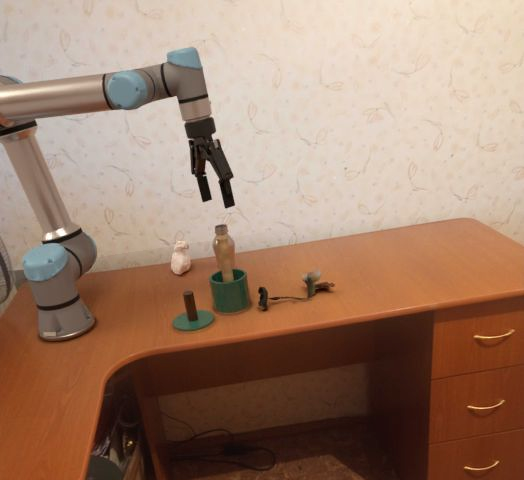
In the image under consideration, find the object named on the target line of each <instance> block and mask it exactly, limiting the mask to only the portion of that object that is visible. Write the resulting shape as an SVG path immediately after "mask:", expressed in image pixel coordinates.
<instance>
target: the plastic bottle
mask: <svg viewBox="0 0 524 480" xmlns="http://www.w3.org/2000/svg"><path fill="white" fill-rule="evenodd" d="M214 234H215V237H214V238H213V240H212V243H211V244H212V251H213V252H214V256H215V259H216V262H217V267H218V268H217V269H218V270H217V271H221V264H220V258H219V251H218V245H217V239H216V238H217V237H219V236H227V237H228V243H229V250H230V257H231V264H232V269H238V267H237V263H236V247H235V246H236V245H235V240H234V239H233V237H232V236H231V235H230V234H229V229H228V224H225V223H222V224H217V225H215V226H214Z"/></svg>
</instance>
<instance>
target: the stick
mask: <svg viewBox="0 0 524 480" xmlns="http://www.w3.org/2000/svg"><path fill="white" fill-rule="evenodd" d="M216 239H217V245H218V251H219V258H220V264H221V270H222V276H223V283H225V282H232V281H234V277H233V270H232V264H231V257H230V250H229V243H228V237H227V236H219V237H217V238H216Z"/></svg>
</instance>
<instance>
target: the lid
mask: <svg viewBox="0 0 524 480" xmlns="http://www.w3.org/2000/svg"><path fill="white" fill-rule="evenodd" d="M182 298H183V302H184V307H185V312H182V313H180V314H178V315H177V316H176V317H174V318H173V320H172V327H173V328H174V329H175V330H177V331H180V332H193V331H198V330H203V329H205V328H206V327H209V326H210V325H212V324H213V322H214V321H215V314H214V313H213V312H211V311H209V310H205V309H197V306H196V305H197V304H196V299H195V294H194V291H193V290H185V291H183V292H182Z"/></svg>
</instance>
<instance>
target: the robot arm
mask: <svg viewBox="0 0 524 480" xmlns="http://www.w3.org/2000/svg"><path fill="white" fill-rule="evenodd" d="M205 78H206V77H205V73H204V67H203V65H202V61H201V58H200V54H199V51H198V49H197V48H196V47H195V46H189V47H183V48H178V49H175V50H172V51H168V52H167V53H166V61H165V62H162V63H157V64H153V65H149V66H143V67H138V68H134V69H129V70H120V71H114V72H113V71H112V72H107V73H97V74H96V73H95V74H89V75H80V76H72V77H71V76H70V77H64V78H63V77H62V78H56V79H48V80H47V79H46V80H38V81H37V80H36V81H29V82H23V81H22V80H21V79H18V78H17V77H15V76H11V75H4V74H0V144H1V145H2V146H3V149H4V150H5V152H6V155H7V157H8V159H9V161H10V164H11V166H12V168H13V170H14V172H15V175H16V176H17V178H18V181H19V183H20V185H21V187H22V189H23V191H24V194H25V196H26V198H27V200H28V202H29V205H30V207H31V209H32V212H33V213H34V215H35V218H36V220H37V221H38V224H39V227H40V228H41V230H42V234H41V236H40V242H41V243H42V244H40V245H38V246H36V247H34V248H33V247H32V248H31V249H29V250H28V251H27V252H25V253H24V255H23V256H22V258H21V265H22V268H23V274H24V276H25V278H26V280H27V284H28V286H29V289H30V292H31V294H32V297H33V299H34V303H35V305H36V308H37V330H38V334H39V337H40V339H41V340H43V341H46V342H52V343H53V342H64V341H69V340H72V339H75V338H78V337H81V336H83V335H85V334H86V333H88V332H89V331H90V330H91V329H92V328H93V327H94V326H95V323H96V321H95V317H94V316H93V313H92V311H90V309H89V308H88V306H87V305H86V304H85V303H84V301H83V300H82V298H81V294H80V292H79V291H80V290H79V289H78V285H77V282H78V280H80V279H81V278H82V277H84V275H85V274H86V273H88V272H89V271H90V270H91V269H92V267H93V266H94V264H95V263H96V261H97V258H98V247H97V245H96V242H95V240H94V239H93V238H92V237H91V236H90V235H89V234H87V233H86V232H85V231H83V229H82V226H81V225H80V224H78V223H76V222H74V221H73V218H72V217H71V215H70V212H69V209H68V207H67V205H66V203H65V200H64V198H63V196H62V194H61V191H60V189H59V186H58V185H57V182H56V179H55V177H54V175H53V173H52V170H51V168H50V165H49V164H48V160H47V158H46V155H45V154H44V152H43V149H42V147H41V145H40V143H39V140H38V138H37V135H36V133H37V131H38V128H39V125H38V123H37V121H36V120H37V119H39V120H41V119H46V118H57V117H64V116H73V115H75V116H76V115H83V114H92V113H101V112H108V111H109V112H110V111H121V110H123V111H133V110H134V111H135V110H137V109H140V108H141V107H143V106H145V105H148V104H151V103H153V102H157V101H160V100H161V101H162V100H165V99H170V98H174V97H176V98H177V102H178V107H179V111H180V112H179V113H180V116H181V120H182V121H183V122H184V124H183V126H184V131H185V135H186V137H187V139H188V140H187V141H188V146H189V157H190V173H191V175H193V176H194V177H195V178H196V182H197V186H198V189H199V190H198V191H199V194H200V198H201V202H202V203H206V202H209V201H212V200H213V197H212V192H211V188H210V185H209V181H208V176H207V172H206V165H207V162H209V164H210V165H211V167H212V169H213V171H214V173H215V174H216V176H217V178H218V182H217V183H218V184H219V189H220V193H221V197H222V200H223V201H222V202H223V207H224V209H229V208H232V207H235V206H236V202H235V198H234V193H233V189H232V184H231V179H234V177H235V176H234V173H233V171H232V168H231V167H230V163H229V161H228V159H227V157H226V155H225V153H224V150H223V148H222V144H221V140H220V138H215V139H213V135H214V134H216V132H217V127H216V122H215V118H214V117H213V116H212V114H213V111H212V106H211V105H212V100H210V97H209V93H208V88H207V83H206V79H205Z"/></svg>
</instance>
